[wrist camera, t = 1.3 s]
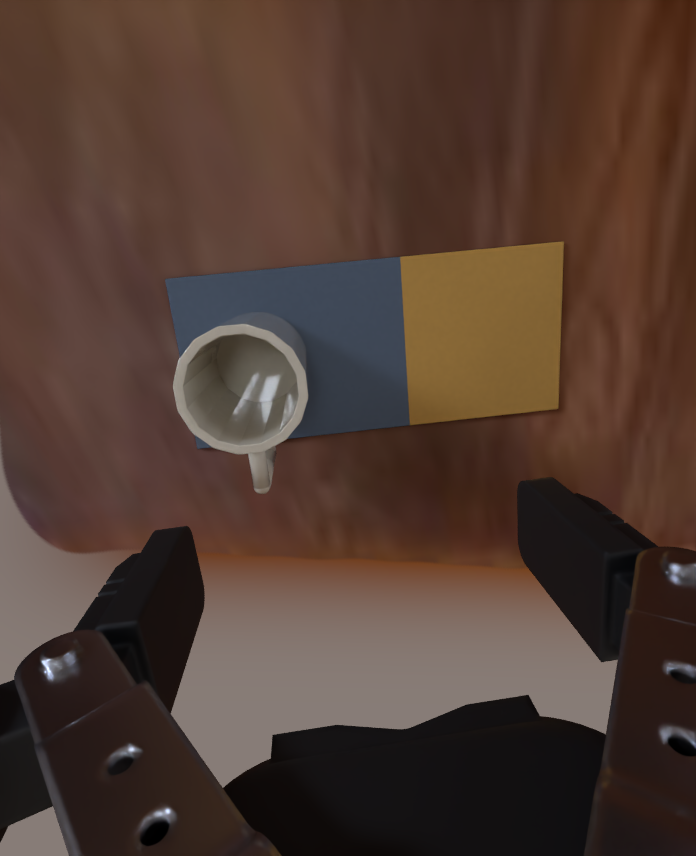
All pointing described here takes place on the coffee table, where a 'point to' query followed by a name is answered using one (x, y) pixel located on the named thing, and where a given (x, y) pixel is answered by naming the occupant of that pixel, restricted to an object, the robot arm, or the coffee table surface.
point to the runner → (403, 333)
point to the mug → (245, 388)
